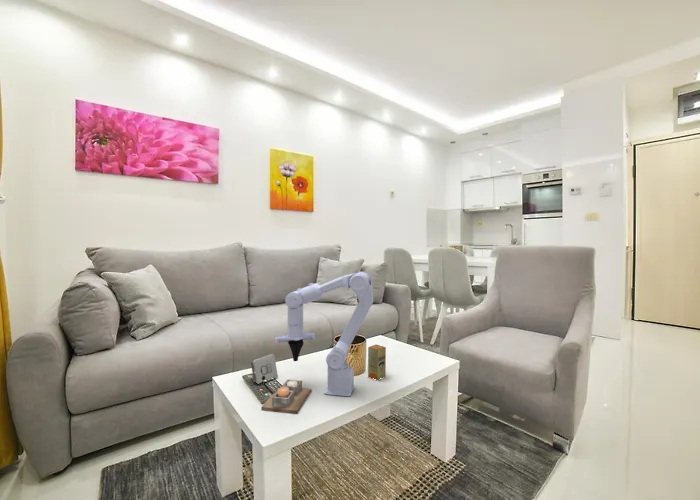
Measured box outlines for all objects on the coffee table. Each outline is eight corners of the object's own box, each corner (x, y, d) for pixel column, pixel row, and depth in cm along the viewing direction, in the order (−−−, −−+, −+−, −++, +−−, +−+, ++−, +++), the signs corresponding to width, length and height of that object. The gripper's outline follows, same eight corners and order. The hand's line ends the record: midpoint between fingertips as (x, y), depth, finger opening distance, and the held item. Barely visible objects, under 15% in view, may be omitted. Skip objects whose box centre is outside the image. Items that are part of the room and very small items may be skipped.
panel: (311, 391, 112) (311, 380, 112) (297, 413, 97) (297, 401, 97) (280, 388, 114) (280, 377, 114) (261, 410, 99) (261, 397, 99)
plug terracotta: (290, 396, 103) (290, 387, 103) (286, 401, 99) (286, 392, 99) (280, 395, 103) (280, 386, 103) (275, 400, 100) (275, 391, 100)
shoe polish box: (368, 377, 124) (368, 347, 124) (375, 373, 128) (376, 344, 127) (377, 380, 121) (377, 350, 120) (385, 377, 124) (385, 347, 124)
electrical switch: (258, 386, 116) (256, 361, 116) (250, 383, 119) (248, 359, 119) (278, 378, 123) (277, 354, 123) (270, 376, 126) (269, 352, 127)
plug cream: (298, 389, 111) (298, 380, 111) (295, 393, 107) (295, 385, 107) (289, 388, 111) (289, 379, 111) (285, 392, 108) (285, 384, 108)
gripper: (276, 328, 109) (276, 366, 109) (317, 324, 114) (317, 361, 114) (274, 323, 115) (274, 359, 116) (312, 320, 120) (312, 355, 121)
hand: (295, 360), depth 115 cm, fingers closed
